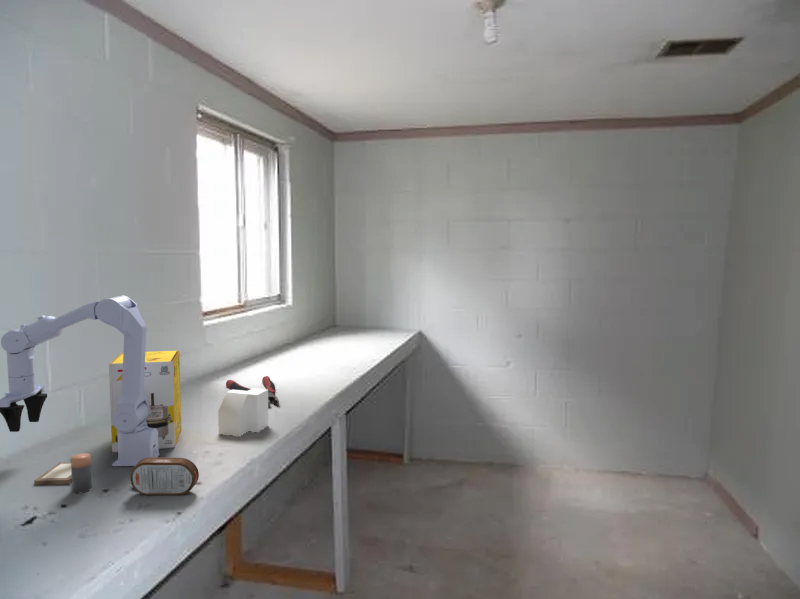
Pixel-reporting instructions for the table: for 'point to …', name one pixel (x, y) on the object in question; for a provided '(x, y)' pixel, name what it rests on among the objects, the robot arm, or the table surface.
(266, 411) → the corner bracket
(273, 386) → the pliers
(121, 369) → the packaging box
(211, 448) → the table surface
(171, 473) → the tin
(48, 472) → the brown picture frame
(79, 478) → the gray and tan capsule
